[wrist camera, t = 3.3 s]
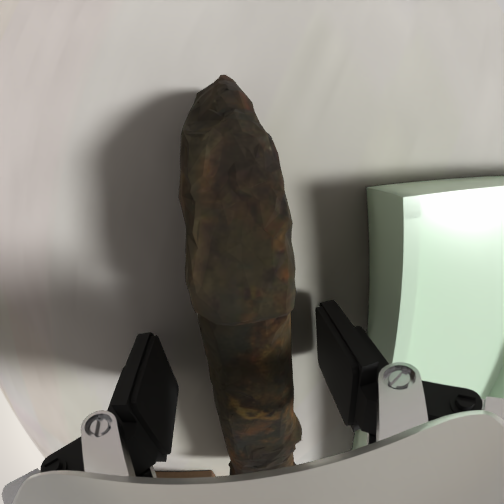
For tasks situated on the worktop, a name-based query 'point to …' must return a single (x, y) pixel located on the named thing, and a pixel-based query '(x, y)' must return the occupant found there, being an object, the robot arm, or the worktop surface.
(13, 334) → the worktop surface
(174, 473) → the gravel box
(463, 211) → the tray
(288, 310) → the dark brown tapered bar
